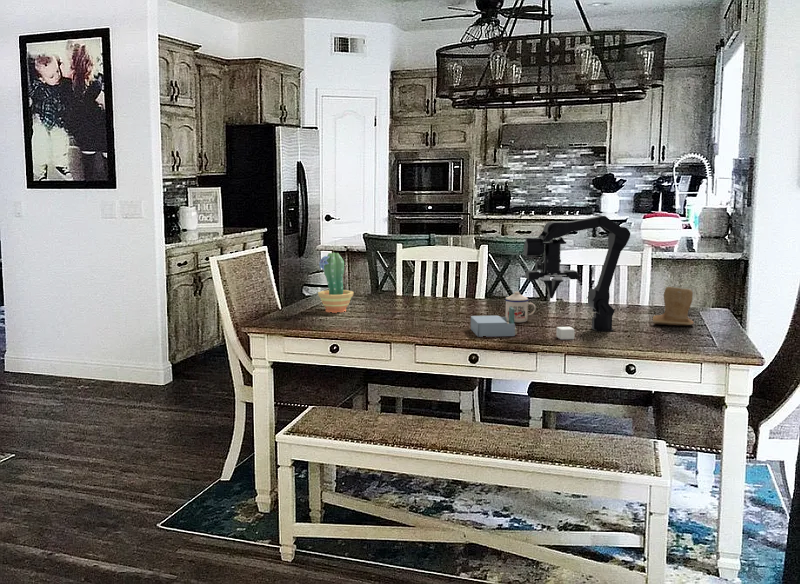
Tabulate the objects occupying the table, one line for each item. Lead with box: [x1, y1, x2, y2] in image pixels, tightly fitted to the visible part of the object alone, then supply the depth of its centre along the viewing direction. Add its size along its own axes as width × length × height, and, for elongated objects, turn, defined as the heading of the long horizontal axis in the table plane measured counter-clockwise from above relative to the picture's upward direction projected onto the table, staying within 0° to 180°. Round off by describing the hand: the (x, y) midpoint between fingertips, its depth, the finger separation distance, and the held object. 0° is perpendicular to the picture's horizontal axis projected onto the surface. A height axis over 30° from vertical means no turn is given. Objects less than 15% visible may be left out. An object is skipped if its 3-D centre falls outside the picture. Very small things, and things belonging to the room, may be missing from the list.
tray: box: [506, 307, 518, 335], centre depth 289 cm, size 14×13×8 cm
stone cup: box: [652, 285, 695, 326], centre depth 303 cm, size 15×12×15 cm
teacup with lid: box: [504, 291, 537, 323], centre depth 312 cm, size 12×9×12 cm
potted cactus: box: [317, 252, 354, 314], centre depth 333 cm, size 15×15×25 cm
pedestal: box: [555, 326, 575, 340], centre depth 280 cm, size 5×5×4 cm
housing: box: [470, 315, 516, 338], centre depth 289 cm, size 14×14×5 cm
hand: (551, 298), depth 290 cm, fingers closed
